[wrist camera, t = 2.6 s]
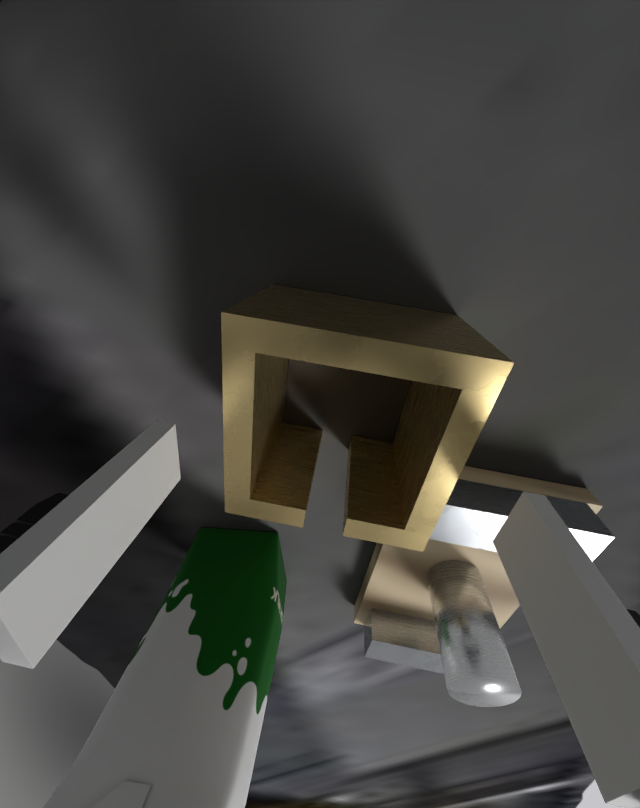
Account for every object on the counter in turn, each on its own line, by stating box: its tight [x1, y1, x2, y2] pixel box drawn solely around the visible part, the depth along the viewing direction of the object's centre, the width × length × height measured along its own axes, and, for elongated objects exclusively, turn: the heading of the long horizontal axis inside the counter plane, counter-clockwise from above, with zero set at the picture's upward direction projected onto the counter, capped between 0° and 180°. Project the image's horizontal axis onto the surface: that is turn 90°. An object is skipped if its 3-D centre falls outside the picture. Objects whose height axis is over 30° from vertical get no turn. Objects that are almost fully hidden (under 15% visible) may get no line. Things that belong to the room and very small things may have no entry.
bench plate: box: [354, 466, 603, 628], centre depth 25 cm, size 19×12×2 cm, turn 172°
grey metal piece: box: [364, 479, 615, 707], centre depth 21 cm, size 19×10×7 cm, turn 172°
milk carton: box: [43, 527, 287, 808], centre depth 20 cm, size 9×9×20 cm
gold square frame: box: [221, 284, 514, 552], centre depth 16 cm, size 10×10×7 cm
